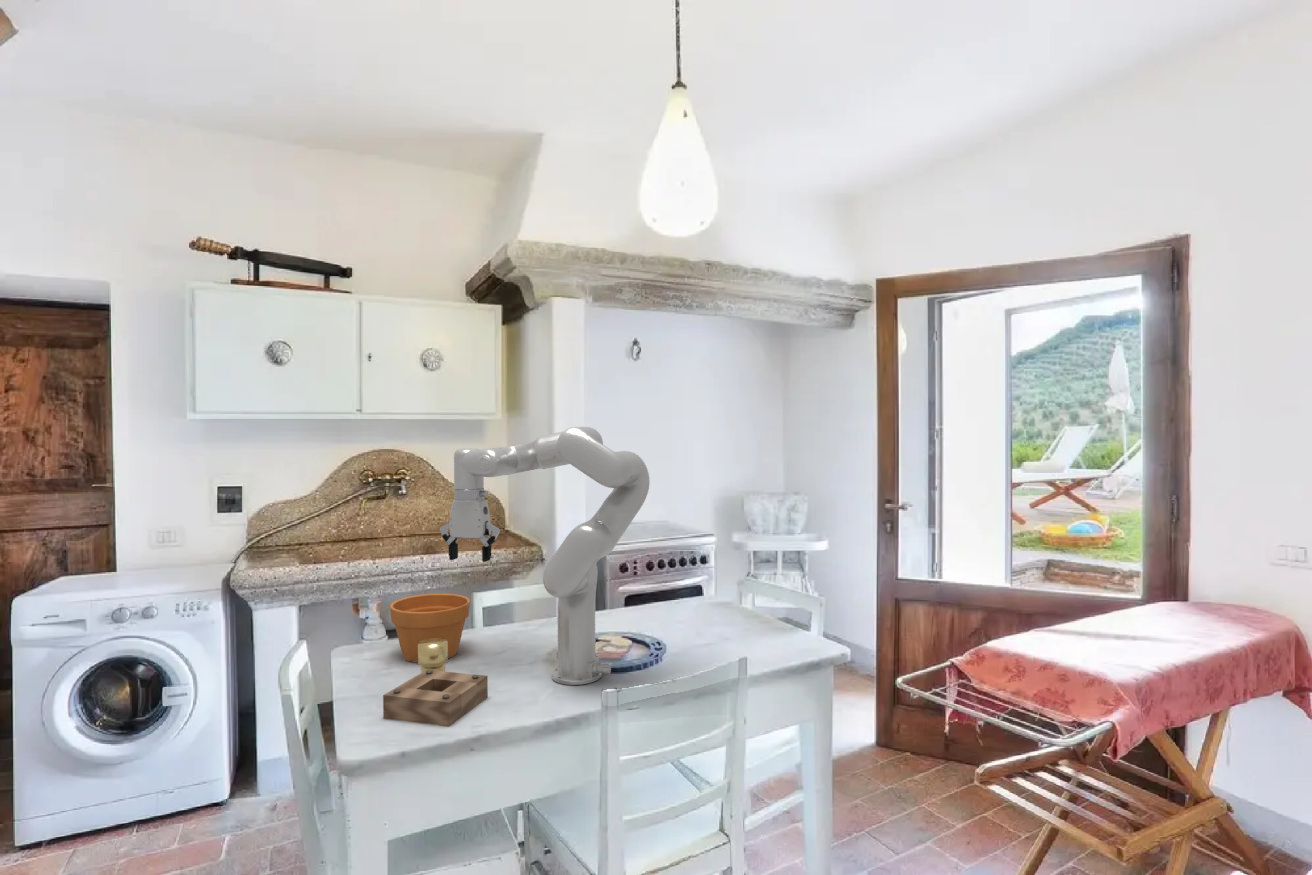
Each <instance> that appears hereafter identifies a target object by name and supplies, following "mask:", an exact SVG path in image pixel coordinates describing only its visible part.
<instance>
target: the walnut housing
mask: <svg viewBox="0 0 1312 875" xmlns="http://www.w3.org/2000/svg"><path fill="white" fill-rule="evenodd" d="M488 687H489V686H488V675H483V674H473V673H464V672H463V673H461V672H453V671H452V672H451V671H445V672H444V671H434V670H425V671H424V672H422V673H421V672H420V673H419V674H417V675H414V676H413V677H412V678H410V679H409V680H407V681H405V682H403V683H401V684H400V685H398V686H397V687H394V688H393V689H391V690H390V691H387V692H386V693H384V694H383V696H382V703H383V704H382V707H383V709H382V710H383V713H382V716H383V718H382V719H384V720H391V721H393V720H394V721H401V722H410V723H417V724H425V725H433V726H442V727H451V726H452V725H454V724H455V723H456V722H458V721H459V720H460V719H461V718H463V717H464V716H465V715H467V714H468V713H469V712H470V711H472V710H473V709H475V708H476V707H477V706H478V705H480V704H481V703H483V702H484V701H485V700H487V698H488V699H489V697H488V695H489V694H488V692H489V691H488V689H489V688H488Z"/></svg>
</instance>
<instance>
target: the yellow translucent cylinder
mask: <svg viewBox="0 0 1312 875" xmlns="http://www.w3.org/2000/svg"><path fill="white" fill-rule="evenodd" d="M448 662H449V658H448V641H447V640H446V639H443V638H431V639H426V640H422V641H420V642H419V643H418V662H417V665H418V667H420V670H421V671H420V673H422V672H424V671H425V670H434V671H444V672H446V664H447V663H448Z"/></svg>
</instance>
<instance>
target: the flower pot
mask: <svg viewBox="0 0 1312 875" xmlns="http://www.w3.org/2000/svg"><path fill="white" fill-rule="evenodd" d="M470 604H471V600H470V598H469V597H467V596H464V595H461V594H455V593H426V594H425V593H424V594H417V595H410V596H407V597H403V598H399V599H397V600H395V601H393V602H392V603H391V604H390V606H389V609H390V621H391V623H392V624H393V625H394V628H395V631H396V636H397V639H398V643H399V646H400V650H401V651H400V652H401V654H402V657H403V659H404V660H405V661H408V662H412V663H418V643H419V642H420V641H422V640H426V639H431V638H443V639H446V640H447V641H448V659H450V658H453V657H455V655H457V653H458V651H459V646H460V643H461V638H462V635H463V631H464V626H465V622H466V619H467V618H468V617H470V616H469V615H470V606H471V605H470Z"/></svg>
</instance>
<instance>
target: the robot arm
mask: <svg viewBox="0 0 1312 875" xmlns="http://www.w3.org/2000/svg"><path fill="white" fill-rule="evenodd" d="M566 465H567V466H568V465H571V466H573V467H574V468H575V469H577V470H578V471H579V472H581V473H582V474H584V475H586V476H587V477H589V478H590V479H592V480H593V481H595V482H596V483H597V484H599V485H601V486H604V487H605V488H608V489H609V488H610V489H613V490H612V491H611V492H610V494H608V496H607V497H606V498H605V500H604V501H603V502H602V504H601V506H600V507H599V508H598V510H597V511H596V512H595V514H594V515H593V516H592V518H590V519H589V520H588V521H585V522H583V523H580V524H578V525H577V526H575V527H574V528H573V529H572V530H571V531H570V532H569V533H568V534H567V536H566V537H565V538H564V540H563V541H562V543H561V544H560V545H559V547H558V548H557V550H556V551H555V553H554V555H552V558H550V560H549V562H547V564H546V566H545V569H544V570H543V575H542V583H543V587H544V588H545V590H546V592H547V593H548V594H549V595H551V596H552V597H554V598H557V621H556V622H557V668H555V669H554V670H552V672H551V679H552V680H553V681H554V682H555V683H559V684H562V685H567V686H569V685H570V686H580V685H586V684H591V683H593V682H597V681H598V680H600V679H601V677H602V676H603V674H605V675H610V674H611V672H612V667H611V665H610V663H607V662H604V663H603V662H601V661H600V656H597V655H596V653H597V652H596V592H597V584H598V575H599V572H598V570H599V569H598V565H597V563H598V562H599V561H600V559H602V558H604V557H606V556H607V555H609V554H610V553H611V552H612V551H613V550H614V549H615V547H616V545H618V544H617V543H618V542H619V540H620V539H621V538H622V536H623V535H624V533H625V532H626V530H627V529H628V528H629V527H630V525H631V523H632V521H633V520H634V518H635V517H636V516H637V514H638V513H639V512H640V510H641V508H642V506H643V505H644V503H645V501H646V499H647V497H648V493H649V490H650V474H649V470H648V468H647V465H646V464H645V461H644V460H643V459H642V457H640V455H638V454H636V453H635V452H632V451H629V450H627V451H626V450H621V451H614V450H612V449H611V448H609V447H608V446H606V445H604V441H603V438H602V435H601V433H600V432H599V431H598V430H597V429H595V428H593V427H590V426H573V427H569V428H566V429H565V430H563V431H559V432H555V433H554V432H553V433H549V434H542V435H539V436H537V437H536V438H535V440H532V441H529V442H526V443H520V444H516V445H511V446H505V447H504V446H501V447H487V448H483V449H481V448H480V449H479V448H459V449H456V450H455V451H454V453H453V481H454V482H453V485H454V486H453V488H454V489H453V490H454V495H453V496H454V499H453V500H452V503H451V507H450V513H449V514H450V515H449V522H448V523H445V524H444V525H442V526H440V527H439V532H440V534H441V535H442V540H444V541H445V542H446V545H447V546H448V557H449V561H454V560H457V559H458V558H459V544H458V543H457V542H458V541H459V539H464V540H465V539H466V540H479V541H480V542H481V543H482V545H483V546H482V548H481V561H482V562H483V563H486V562H488V561H491V559H492V545H494V544H495V543H494V542H496V541H497V540H498V536H499V534H500V532H501V529H500V528H499V527H497V526H496V525H493V523H491V515H490V514H491V513H490V509H489V503H488V500H487V499H485V497H488V496H489V495H488V494H489V492H488V491H486V490H485V488H484V487H485V485H484V484H485V483H484V480H485V479H484V478H494V477H495V478H496V477H501V476H510V475H514V474H520V473H524V472H528V471H534V470H538V469H540V470H546V469H550V468H551V469H552V468H556V467H560V466H566ZM448 530H449V531H448ZM491 533H492V534H491Z"/></svg>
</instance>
